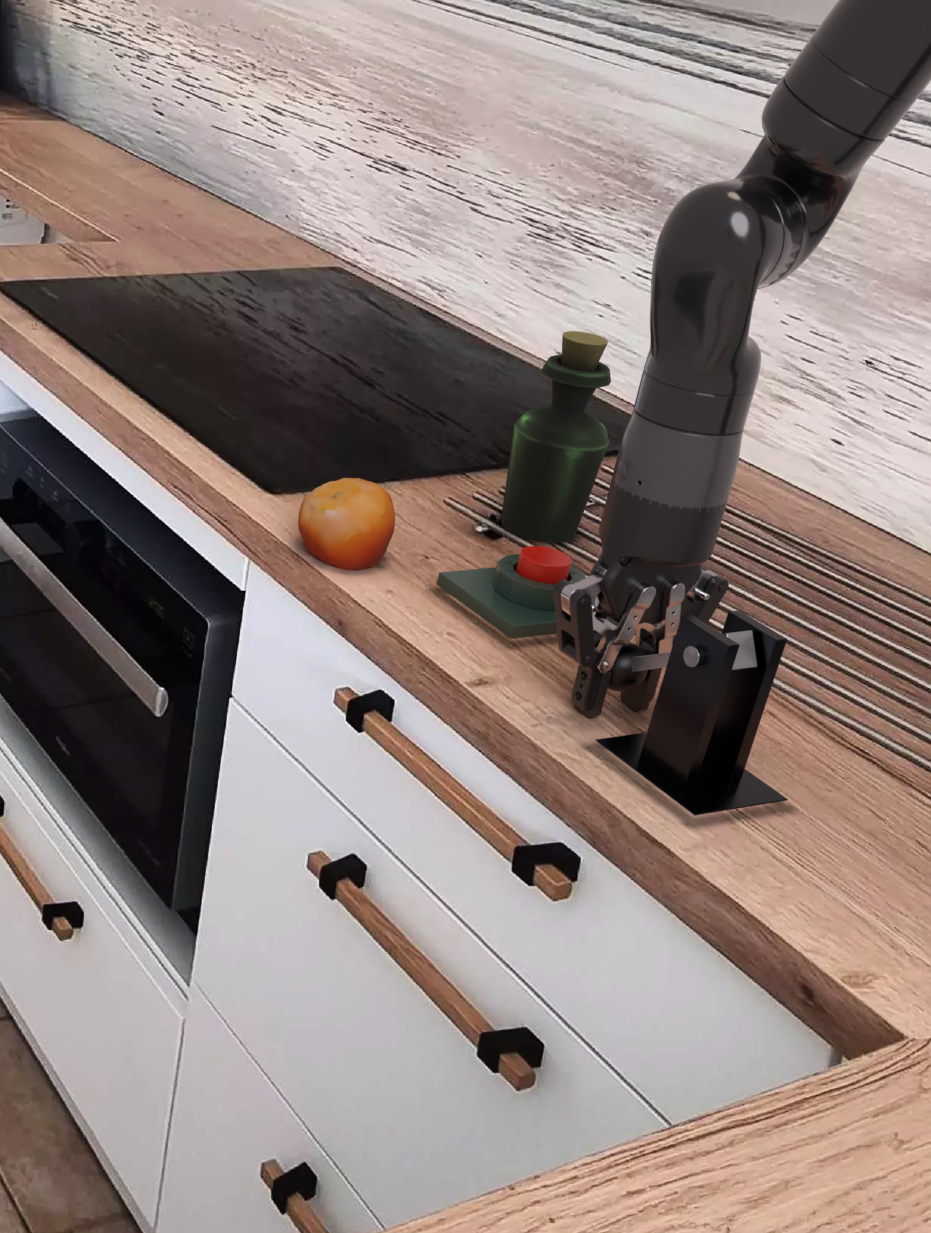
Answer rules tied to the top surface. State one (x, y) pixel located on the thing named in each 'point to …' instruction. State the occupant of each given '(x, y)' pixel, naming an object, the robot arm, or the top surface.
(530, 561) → the button
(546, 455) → the potion bottle
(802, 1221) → the top surface
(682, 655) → the switch bracket
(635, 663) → the switch lever
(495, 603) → the button box
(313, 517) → the fruit
